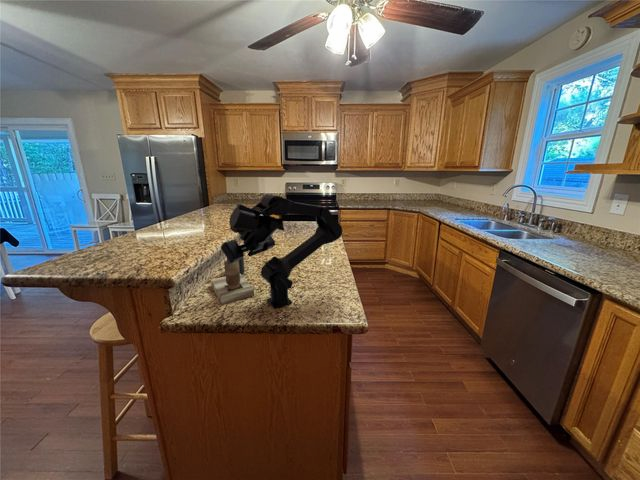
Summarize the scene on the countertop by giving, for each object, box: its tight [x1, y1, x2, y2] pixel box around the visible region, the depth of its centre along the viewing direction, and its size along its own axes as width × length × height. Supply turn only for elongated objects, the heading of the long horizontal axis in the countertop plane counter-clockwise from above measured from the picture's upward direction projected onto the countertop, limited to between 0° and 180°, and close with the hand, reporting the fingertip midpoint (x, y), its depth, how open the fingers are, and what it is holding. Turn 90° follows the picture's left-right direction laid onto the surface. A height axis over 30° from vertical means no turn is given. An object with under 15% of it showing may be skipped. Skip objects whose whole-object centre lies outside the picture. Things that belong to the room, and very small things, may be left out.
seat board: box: [210, 274, 255, 305], centre depth 91 cm, size 16×11×2 cm
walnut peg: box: [223, 260, 240, 292], centre depth 88 cm, size 5×5×12 cm
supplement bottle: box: [238, 244, 246, 275], centre depth 105 cm, size 7×7×12 cm
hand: (238, 259), depth 85 cm, fingers open, 9 cm apart
